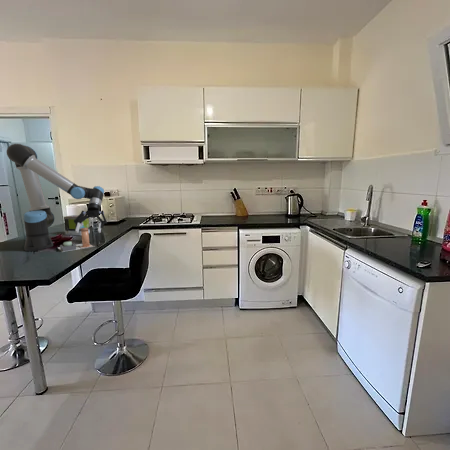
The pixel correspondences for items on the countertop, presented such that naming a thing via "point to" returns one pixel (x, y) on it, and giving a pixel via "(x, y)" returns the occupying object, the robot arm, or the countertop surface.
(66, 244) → the button
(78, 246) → the board
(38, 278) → the countertop surface
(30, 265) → the countertop surface
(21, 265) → the countertop surface
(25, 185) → the robot arm
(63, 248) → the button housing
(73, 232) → the tea box
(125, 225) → the countertop surface
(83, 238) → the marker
